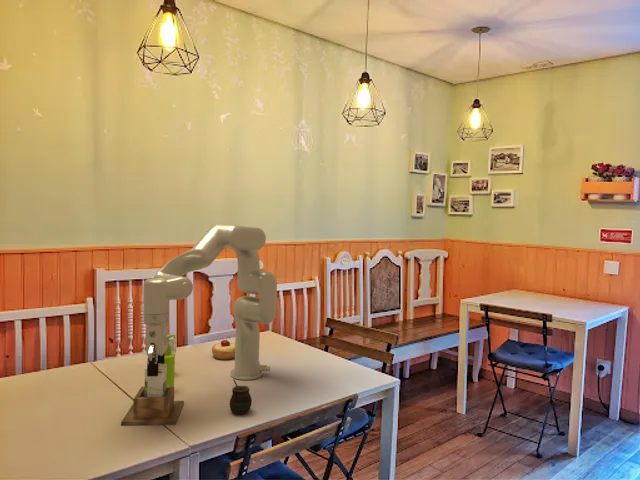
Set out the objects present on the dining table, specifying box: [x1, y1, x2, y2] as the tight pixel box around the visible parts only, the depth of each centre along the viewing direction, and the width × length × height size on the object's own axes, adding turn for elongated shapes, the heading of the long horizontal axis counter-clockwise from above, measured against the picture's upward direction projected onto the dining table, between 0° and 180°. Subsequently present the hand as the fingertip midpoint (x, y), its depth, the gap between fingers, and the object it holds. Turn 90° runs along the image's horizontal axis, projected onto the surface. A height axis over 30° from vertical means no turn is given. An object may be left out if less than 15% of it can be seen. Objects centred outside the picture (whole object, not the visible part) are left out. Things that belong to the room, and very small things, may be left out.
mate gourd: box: [229, 378, 252, 416], centre depth 162 cm, size 7×8×10 cm
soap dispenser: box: [164, 334, 176, 387], centre depth 177 cm, size 6×7×20 cm
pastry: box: [211, 336, 235, 361], centre depth 219 cm, size 12×12×9 cm
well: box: [120, 385, 185, 426], centre depth 158 cm, size 16×16×7 cm
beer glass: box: [169, 335, 177, 376], centre depth 193 cm, size 7×7×15 cm
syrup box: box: [143, 363, 167, 397], centre depth 158 cm, size 6×6×14 cm
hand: (156, 370), depth 158 cm, fingers open, 9 cm apart
